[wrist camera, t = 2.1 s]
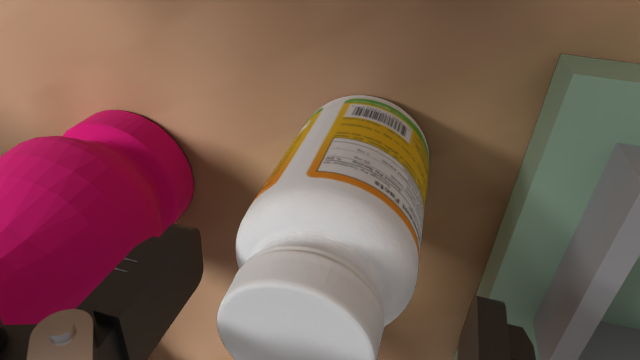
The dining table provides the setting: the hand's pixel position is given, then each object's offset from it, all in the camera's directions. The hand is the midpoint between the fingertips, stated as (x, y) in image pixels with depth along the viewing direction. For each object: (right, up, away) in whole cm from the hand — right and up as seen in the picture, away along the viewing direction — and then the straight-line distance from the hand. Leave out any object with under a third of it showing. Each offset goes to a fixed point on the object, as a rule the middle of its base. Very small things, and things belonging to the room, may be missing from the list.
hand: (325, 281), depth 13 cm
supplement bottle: (+2, +4, +6) cm, 7 cm away
